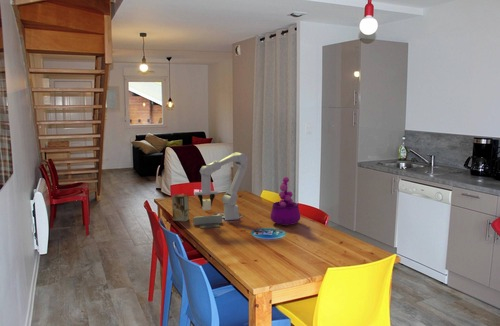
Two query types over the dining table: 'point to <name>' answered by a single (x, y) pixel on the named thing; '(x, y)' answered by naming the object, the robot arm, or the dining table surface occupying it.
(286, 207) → the decorative plant
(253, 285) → the dining table surface
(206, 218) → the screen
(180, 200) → the coffee box
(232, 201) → the robot arm
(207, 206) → the letter block
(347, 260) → the dining table surface
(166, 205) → the dining table surface
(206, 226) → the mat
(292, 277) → the dining table surface
